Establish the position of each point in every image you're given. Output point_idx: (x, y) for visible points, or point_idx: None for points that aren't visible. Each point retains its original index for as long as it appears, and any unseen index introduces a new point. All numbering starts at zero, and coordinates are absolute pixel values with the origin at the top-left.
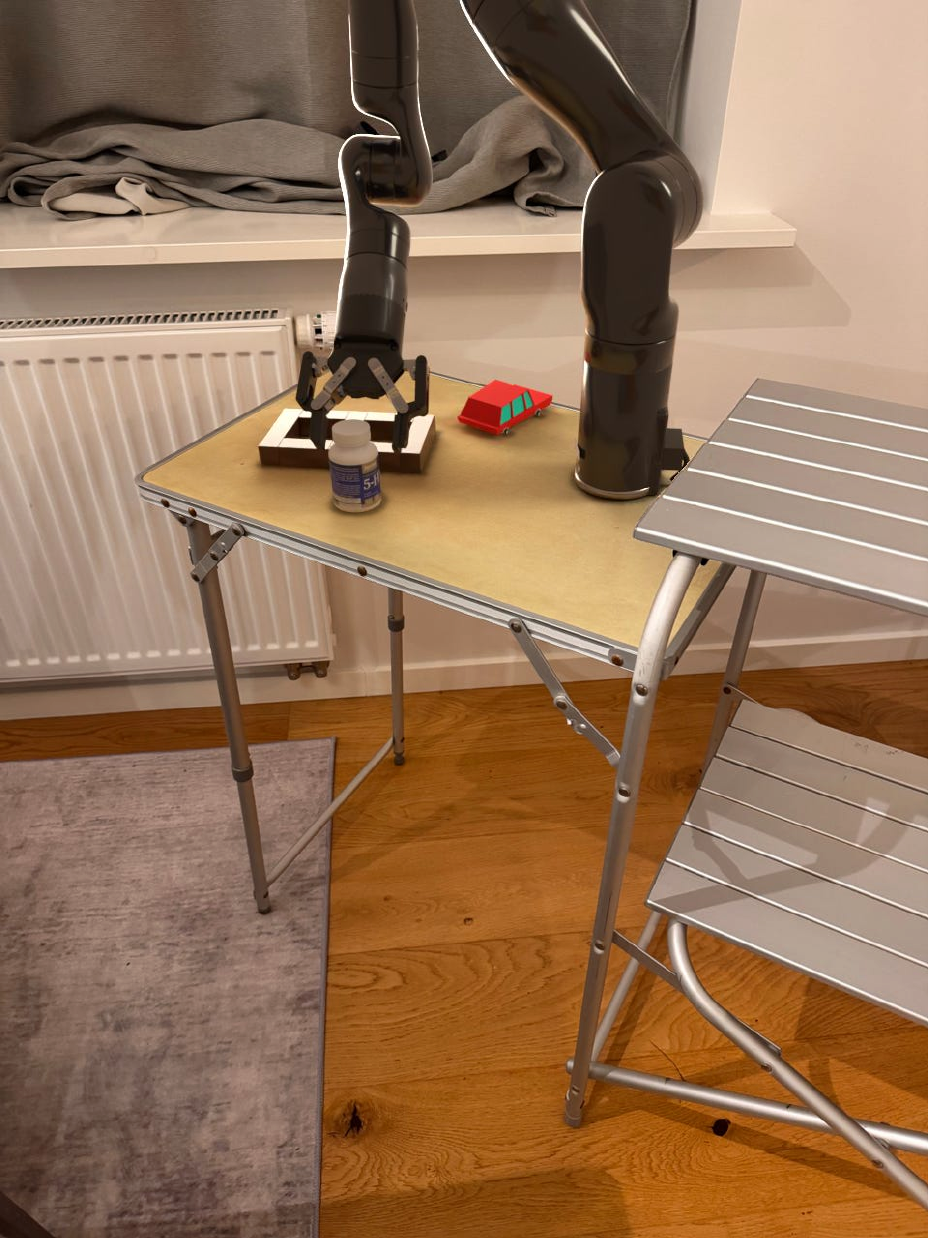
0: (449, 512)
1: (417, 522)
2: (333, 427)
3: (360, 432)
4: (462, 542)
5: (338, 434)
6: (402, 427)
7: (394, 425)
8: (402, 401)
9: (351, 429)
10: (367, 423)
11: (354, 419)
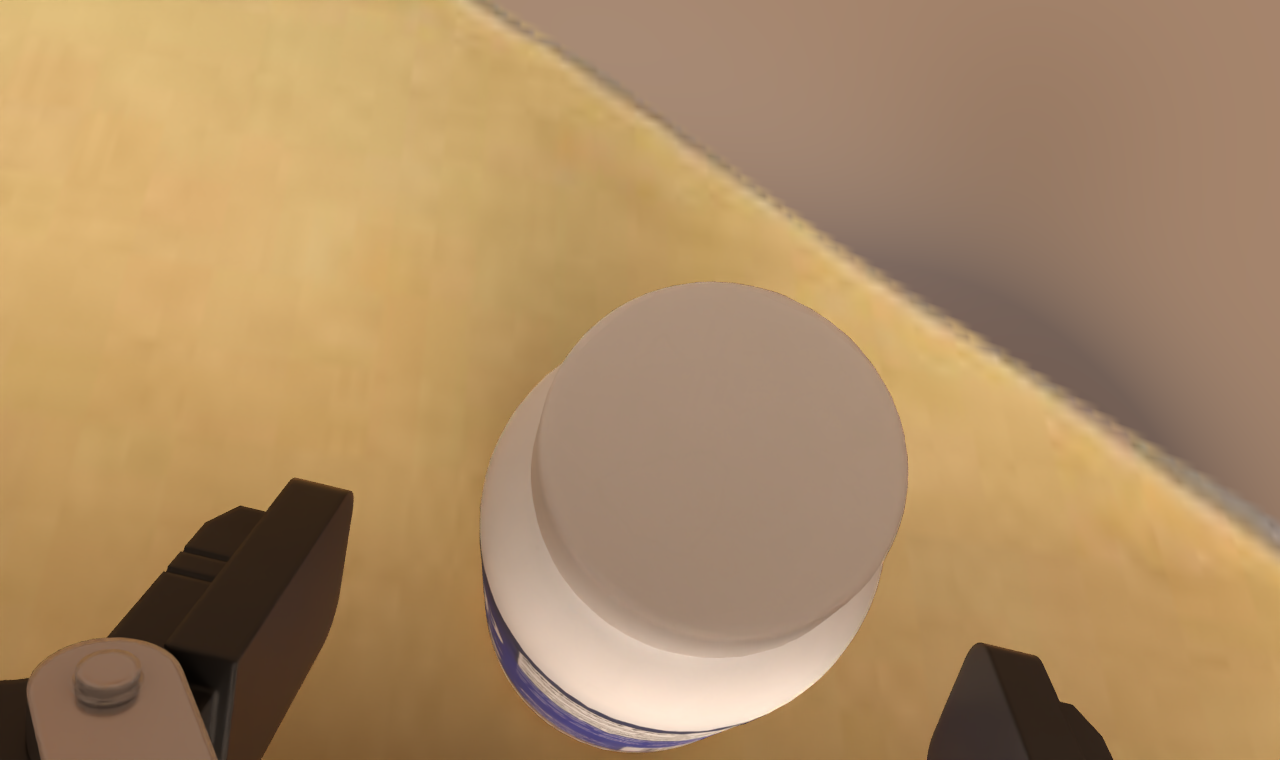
0: (85, 403)
1: (298, 324)
2: (894, 451)
3: (630, 304)
4: (95, 108)
5: (831, 325)
6: (198, 594)
7: (277, 581)
8: (77, 734)
9: (717, 388)
10: (560, 497)
11: (697, 621)
